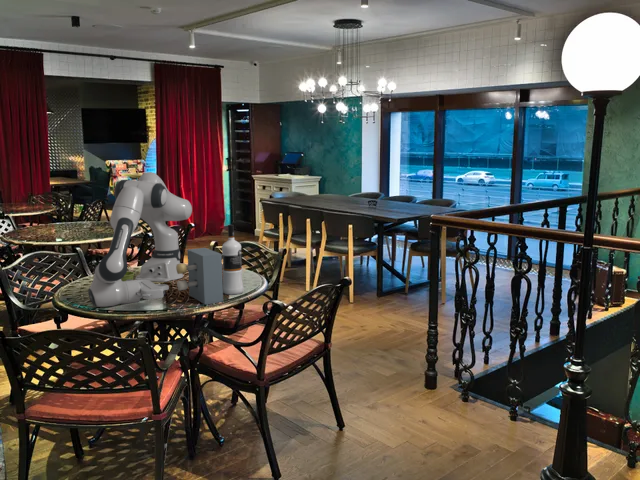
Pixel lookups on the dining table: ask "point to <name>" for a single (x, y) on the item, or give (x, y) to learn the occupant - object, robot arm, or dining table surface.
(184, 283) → the knob lower
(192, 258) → the console
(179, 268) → the knob upper
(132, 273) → the plant pot
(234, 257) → the vodka
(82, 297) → the dining table surface
